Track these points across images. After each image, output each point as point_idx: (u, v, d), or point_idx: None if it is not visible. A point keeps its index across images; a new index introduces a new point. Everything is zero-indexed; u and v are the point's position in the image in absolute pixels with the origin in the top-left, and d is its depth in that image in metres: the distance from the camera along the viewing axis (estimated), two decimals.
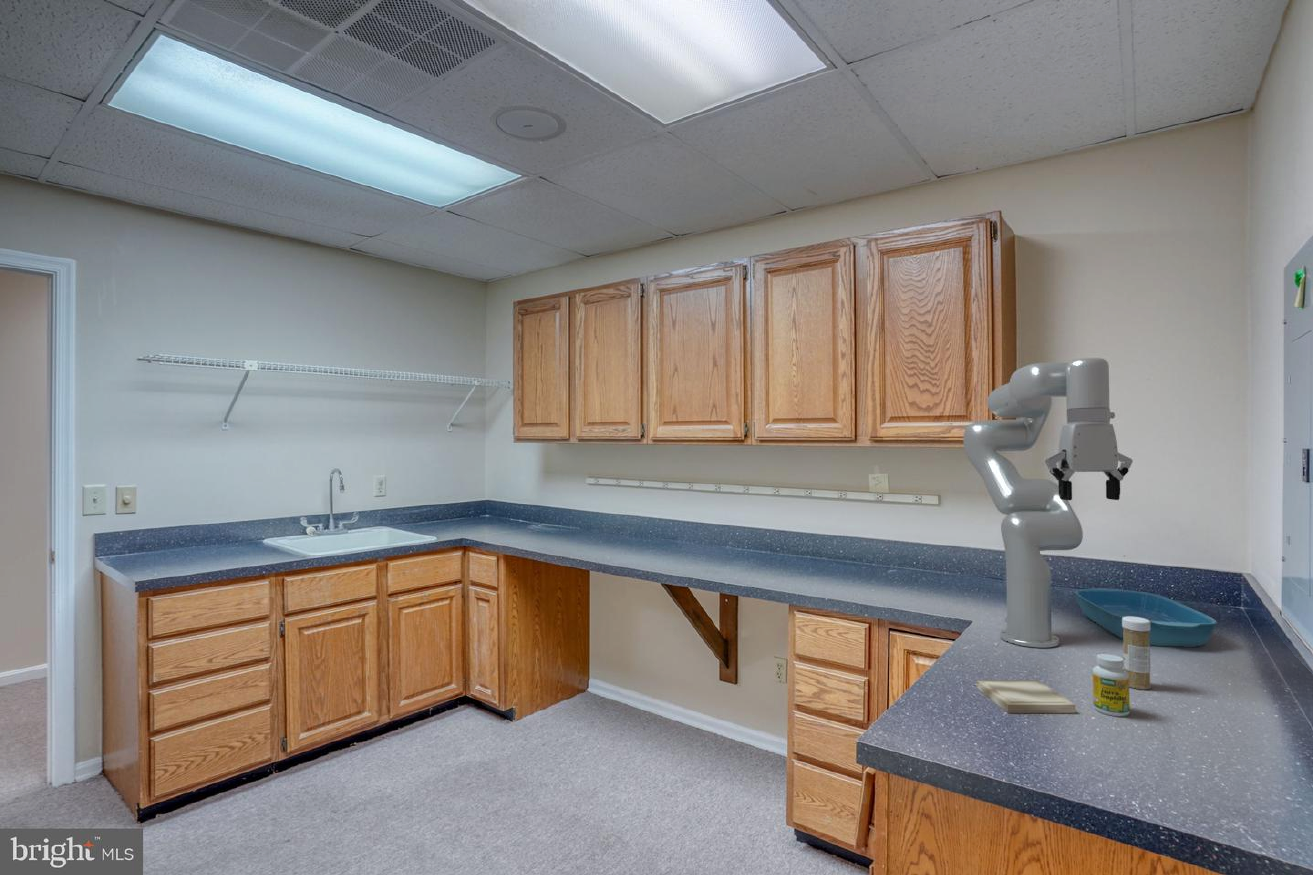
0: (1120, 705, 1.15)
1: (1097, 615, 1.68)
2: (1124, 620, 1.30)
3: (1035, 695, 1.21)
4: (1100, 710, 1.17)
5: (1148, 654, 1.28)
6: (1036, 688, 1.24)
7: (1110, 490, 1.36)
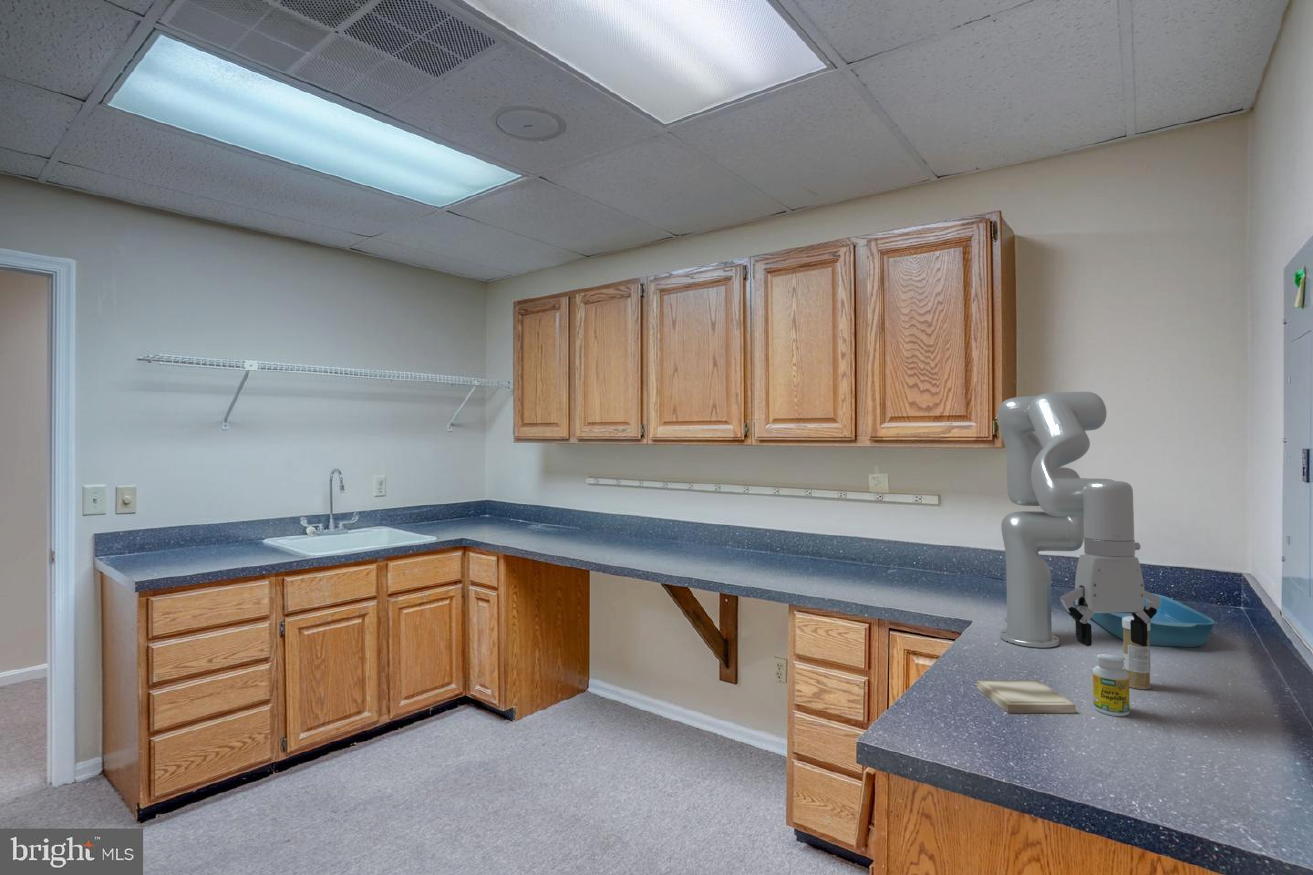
0: (1120, 705, 1.15)
1: (1096, 615, 1.69)
2: (1124, 620, 1.30)
3: (1035, 695, 1.21)
4: (1100, 710, 1.17)
5: (1148, 654, 1.28)
6: (1036, 688, 1.24)
7: (1136, 633, 1.18)
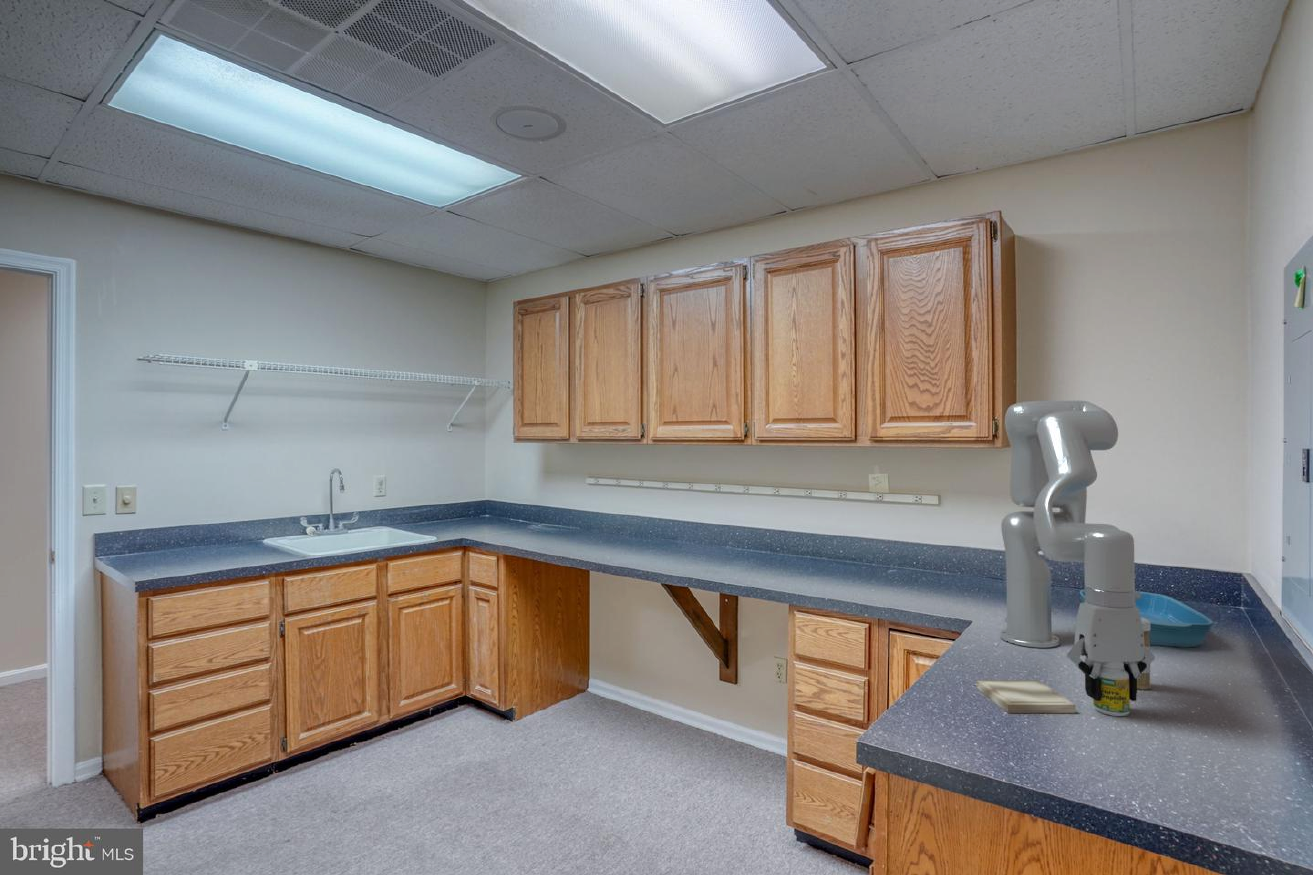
0: (1120, 705, 1.15)
1: None
2: None
3: (1035, 695, 1.21)
4: (1101, 710, 1.17)
5: None
6: (1036, 688, 1.24)
7: None
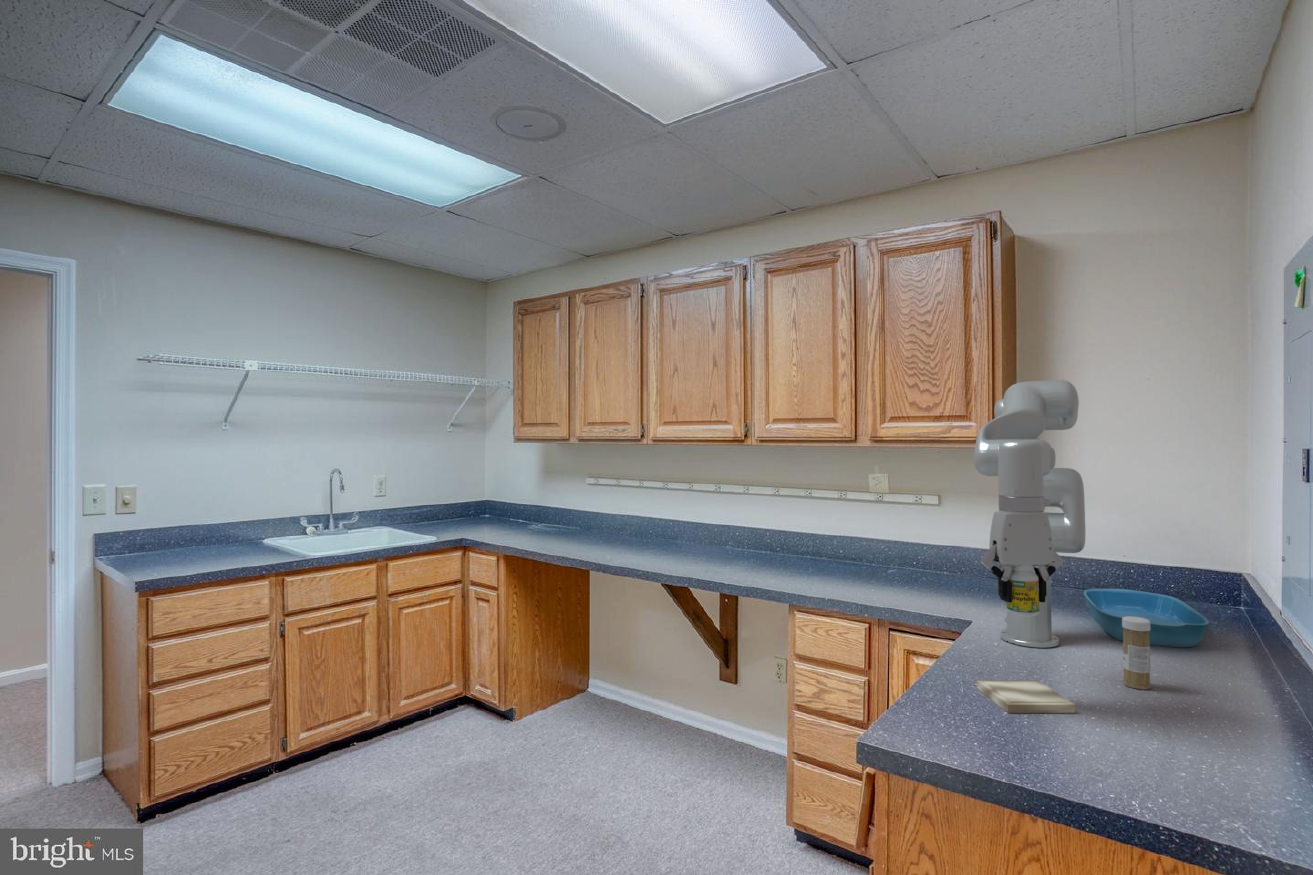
0: (1029, 605, 1.21)
1: (1094, 613, 1.70)
2: (1124, 620, 1.30)
3: (1035, 695, 1.21)
4: (1012, 612, 1.22)
5: (1148, 654, 1.28)
6: (1036, 688, 1.24)
7: None
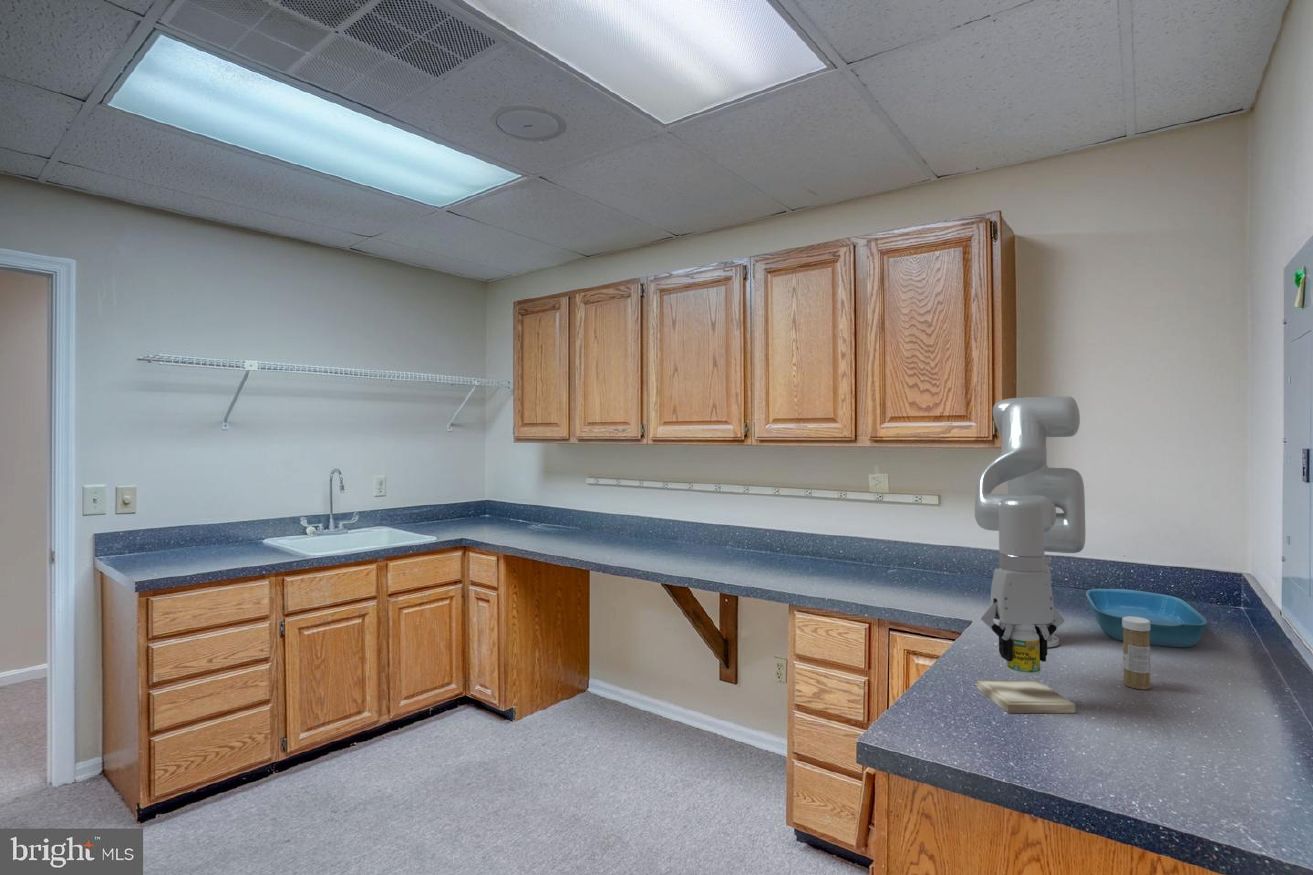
0: (1030, 665, 1.21)
1: (1094, 612, 1.71)
2: (1124, 620, 1.30)
3: (1035, 695, 1.21)
4: (1012, 671, 1.22)
5: (1148, 654, 1.28)
6: (1036, 688, 1.24)
7: None
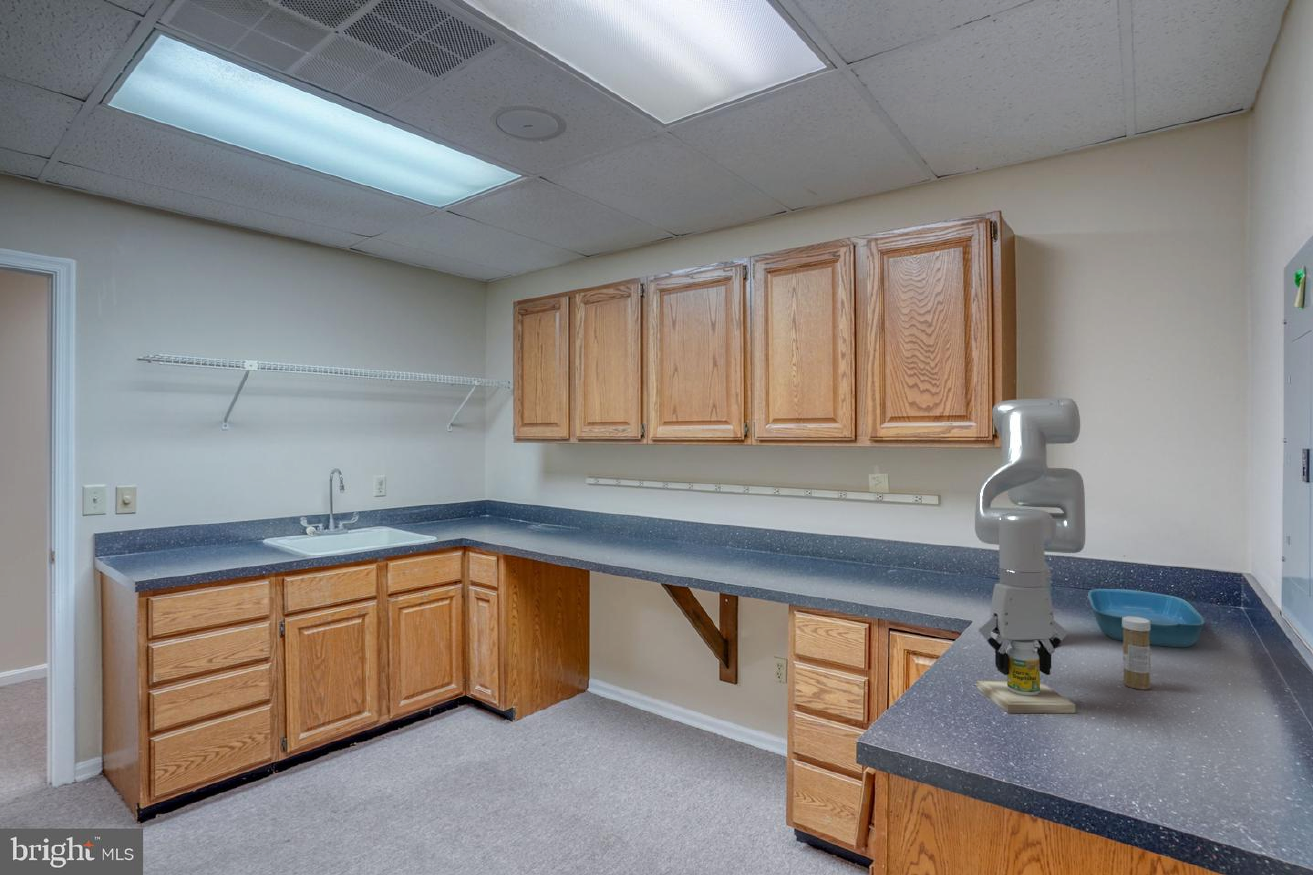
0: (1030, 685, 1.21)
1: None
2: (1124, 620, 1.30)
3: (1035, 695, 1.21)
4: (1012, 690, 1.22)
5: (1148, 654, 1.28)
6: None
7: (1041, 662, 1.23)
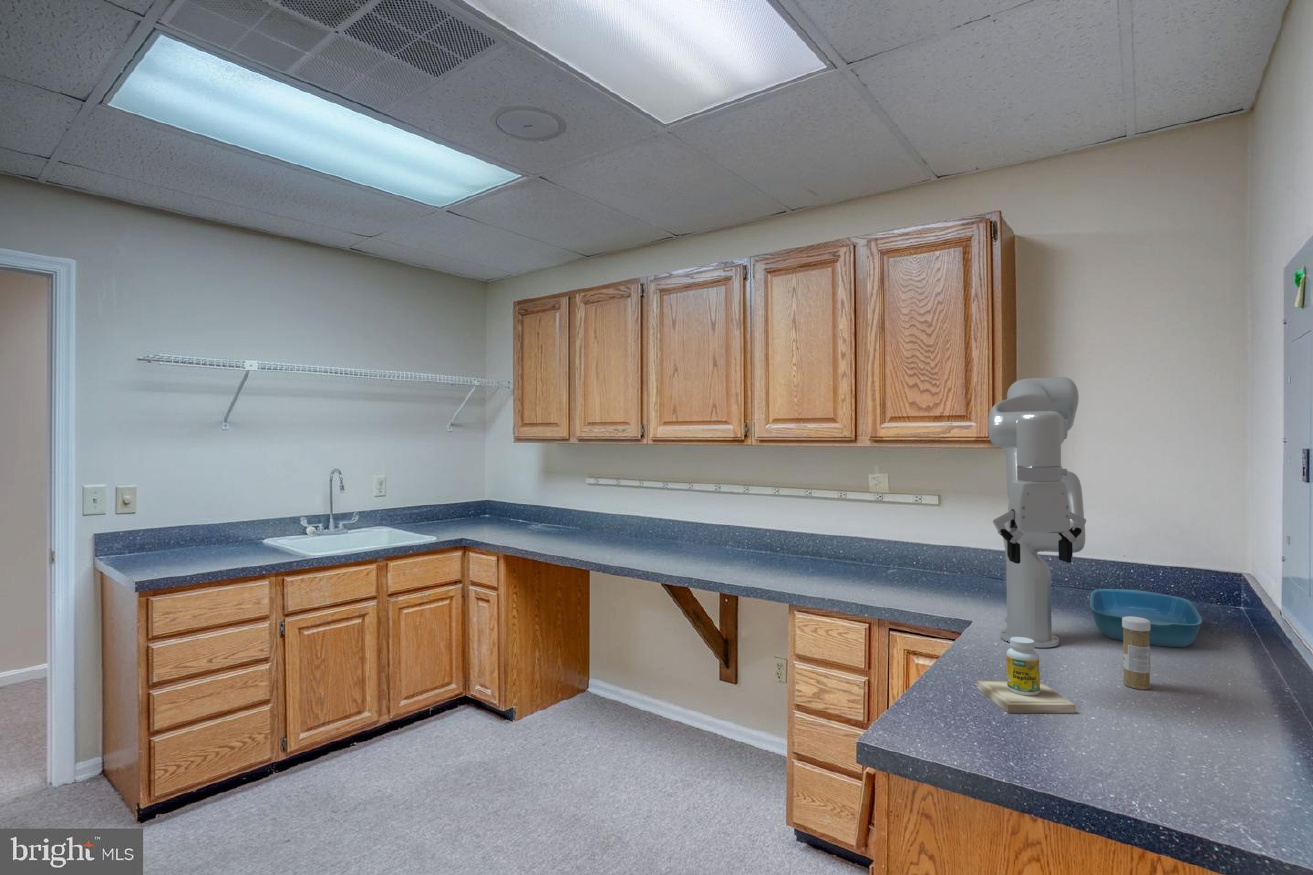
0: (1030, 685, 1.21)
1: None
2: (1124, 620, 1.30)
3: (1035, 695, 1.21)
4: (1012, 690, 1.22)
5: (1148, 654, 1.28)
6: None
7: (1062, 551, 1.28)
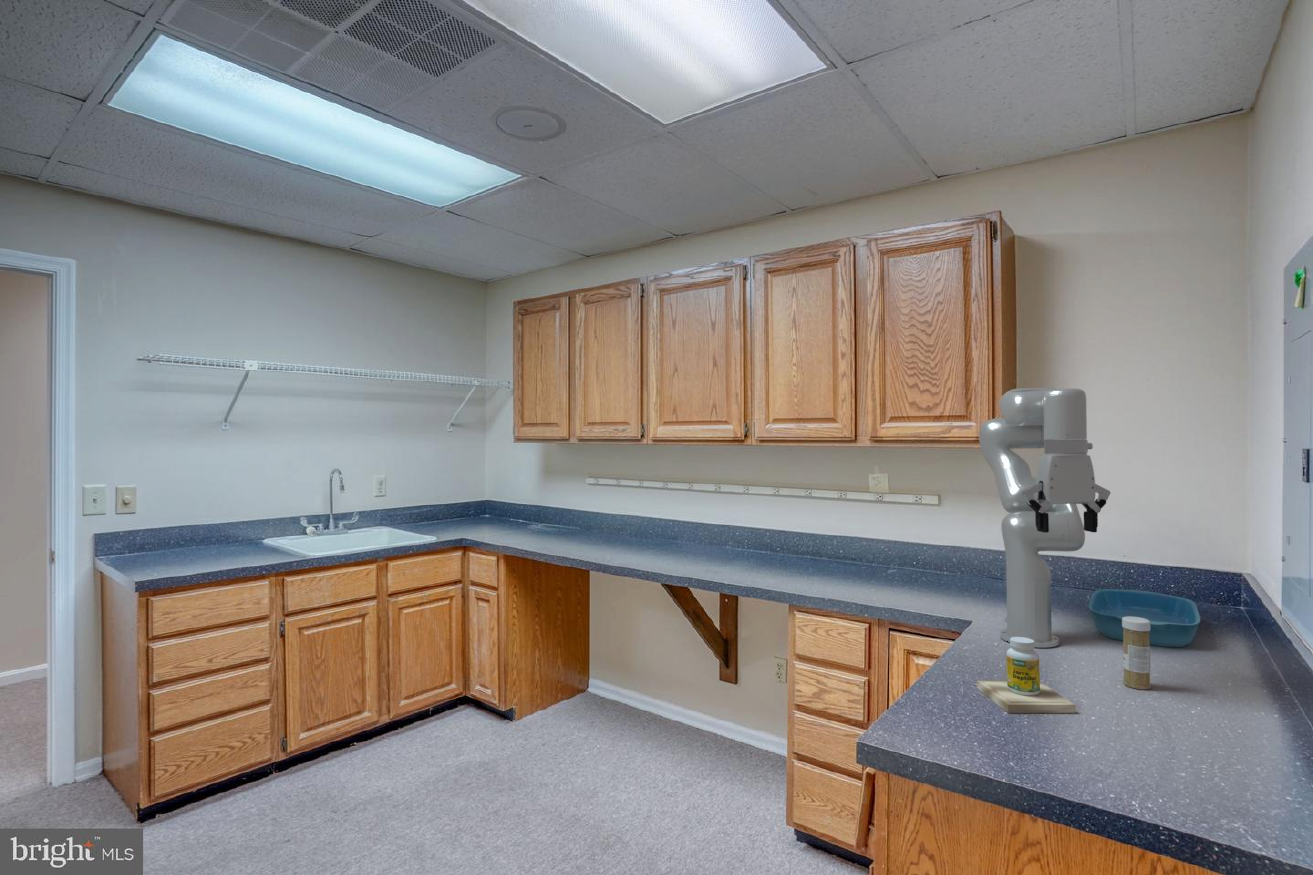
0: (1030, 685, 1.21)
1: None
2: (1124, 620, 1.30)
3: (1035, 695, 1.21)
4: (1012, 690, 1.22)
5: (1148, 654, 1.28)
6: None
7: (1088, 522, 1.34)
